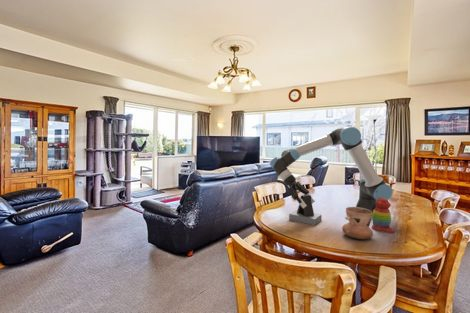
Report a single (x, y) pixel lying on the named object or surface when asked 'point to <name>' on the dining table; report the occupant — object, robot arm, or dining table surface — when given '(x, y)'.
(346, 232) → the ceramic jug
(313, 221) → the plinth
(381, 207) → the stacking bear
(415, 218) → the dining table surface
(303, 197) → the black tapered block
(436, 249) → the dining table surface
